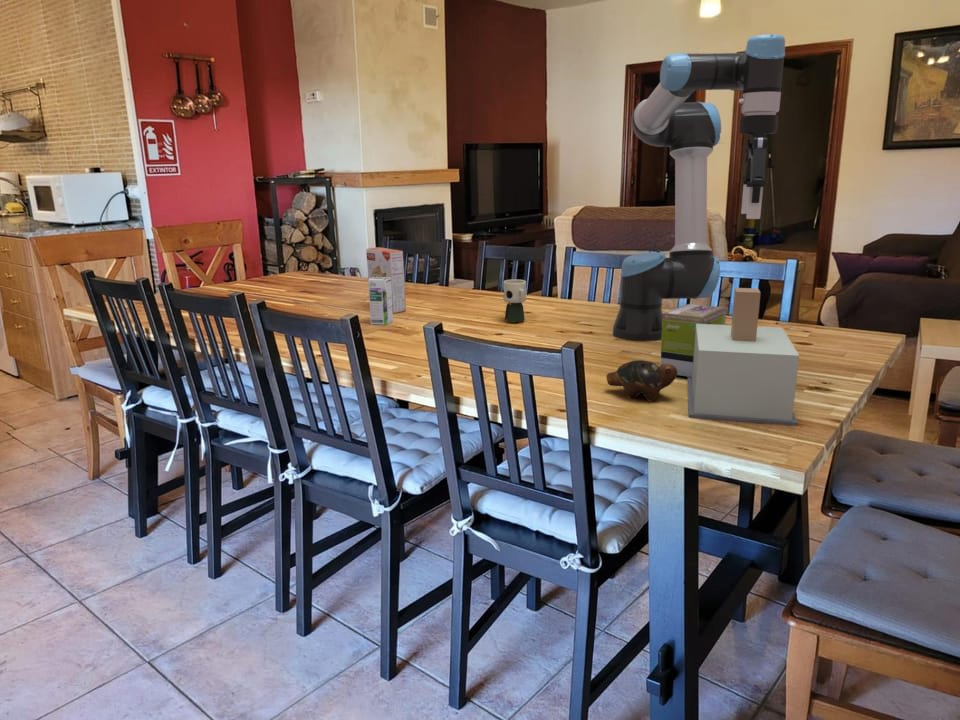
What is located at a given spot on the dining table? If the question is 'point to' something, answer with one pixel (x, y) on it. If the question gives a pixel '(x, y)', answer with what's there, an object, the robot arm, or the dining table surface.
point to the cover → (744, 365)
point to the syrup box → (380, 300)
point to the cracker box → (389, 272)
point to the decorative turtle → (642, 378)
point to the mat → (732, 418)
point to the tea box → (685, 333)
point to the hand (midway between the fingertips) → (750, 216)
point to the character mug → (514, 299)
